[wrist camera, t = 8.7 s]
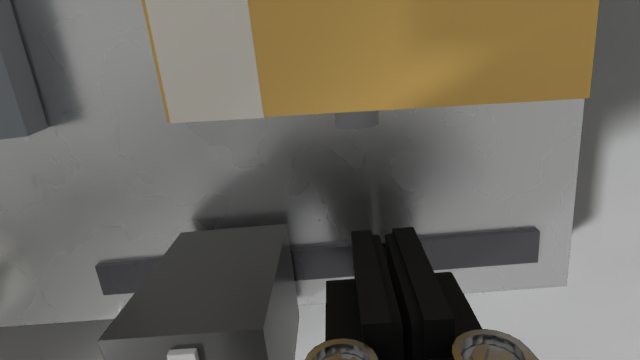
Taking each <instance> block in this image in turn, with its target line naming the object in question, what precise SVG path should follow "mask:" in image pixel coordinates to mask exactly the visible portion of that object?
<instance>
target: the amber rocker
mask: <svg viewBox="0 0 640 360" xmlns="http://www.w3.org/2000/svg"><path fill="white" fill-rule="evenodd" d="M141 1H142V6H143V11H144V15H145V20H146V25H147V29H148V34H149V39H150V44H151V48H152V53H153V58H154V62H155V67H156V72H157V76H158V81H159V86H160V91H161V95H162V100H163V105H164V109H165V114H166V119H167V123H168V122H170V123H185V122H203V121H220V120H238V119H256V118H265V117H273V116H290V115H307V114H325V113H334V116H335V127H336V128H338V129H363V128H369V127H373V126H376V125H378V124H379V112H378V110H395V109H412V108H430V107H447V106H465V105H482V104H499V103H517V102H534V101H552V100H569V99H587V98H590V90H591V80H592V70H593V60H594V50H595V40H596V30H597V20H598V10H599V0H141Z"/></svg>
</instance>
